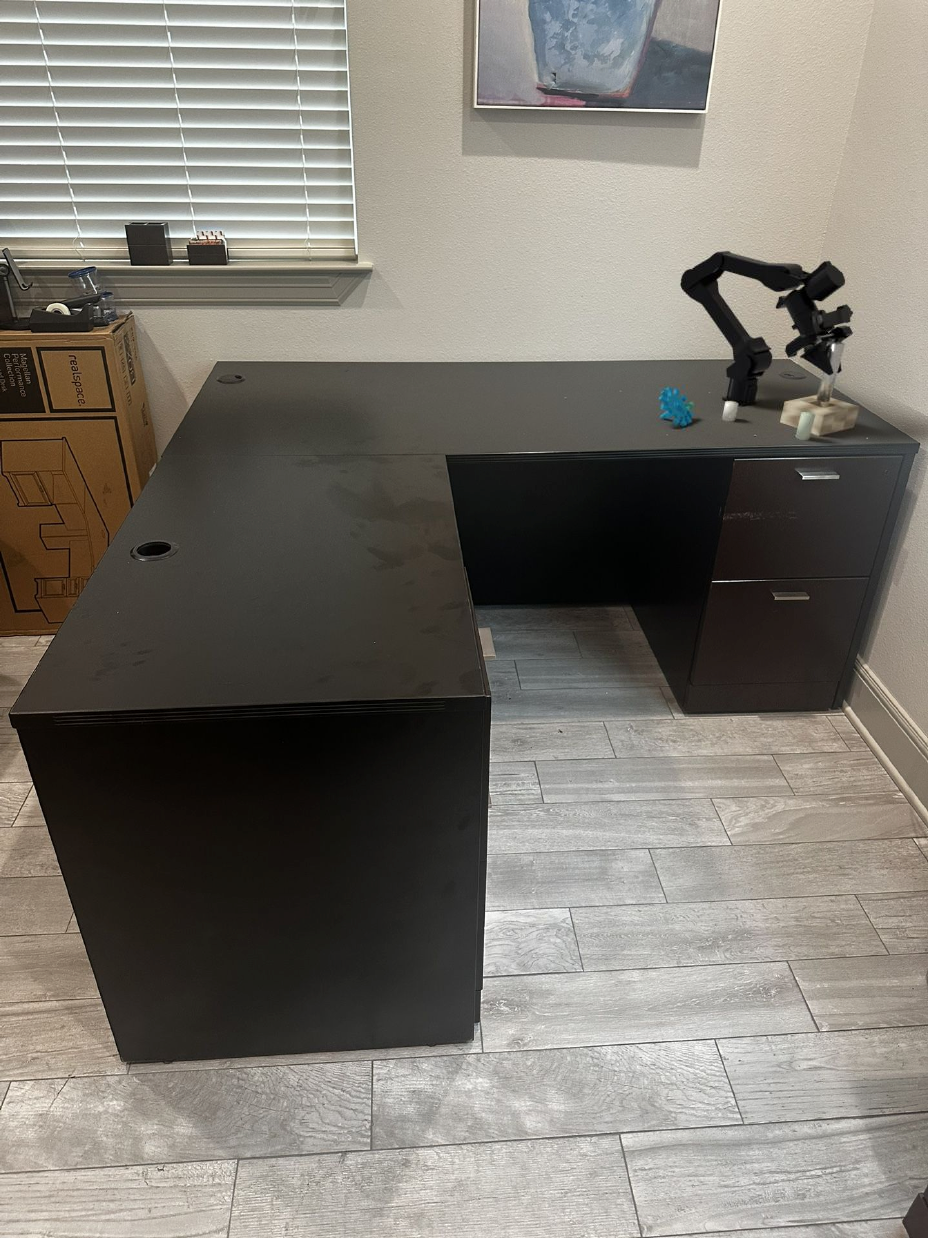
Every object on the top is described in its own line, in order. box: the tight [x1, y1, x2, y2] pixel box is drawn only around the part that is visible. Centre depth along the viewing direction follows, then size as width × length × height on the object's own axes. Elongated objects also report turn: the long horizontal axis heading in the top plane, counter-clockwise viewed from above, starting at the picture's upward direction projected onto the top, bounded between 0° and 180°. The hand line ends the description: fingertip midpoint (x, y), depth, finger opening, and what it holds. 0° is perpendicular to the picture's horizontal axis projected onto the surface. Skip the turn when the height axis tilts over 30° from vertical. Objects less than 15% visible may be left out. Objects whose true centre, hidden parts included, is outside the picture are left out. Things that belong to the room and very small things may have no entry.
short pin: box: [721, 400, 739, 422], centre depth 199 cm, size 3×3×4 cm
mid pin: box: [795, 412, 815, 441], centre depth 188 cm, size 3×3×6 cm
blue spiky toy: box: [658, 386, 695, 427], centre depth 197 cm, size 11×6×10 cm
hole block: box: [779, 394, 860, 437], centre depth 197 cm, size 11×13×5 cm
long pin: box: [816, 342, 846, 402], centre depth 192 cm, size 3×3×13 cm
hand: (835, 373), depth 191 cm, fingers closed on long pin, 3 cm apart
